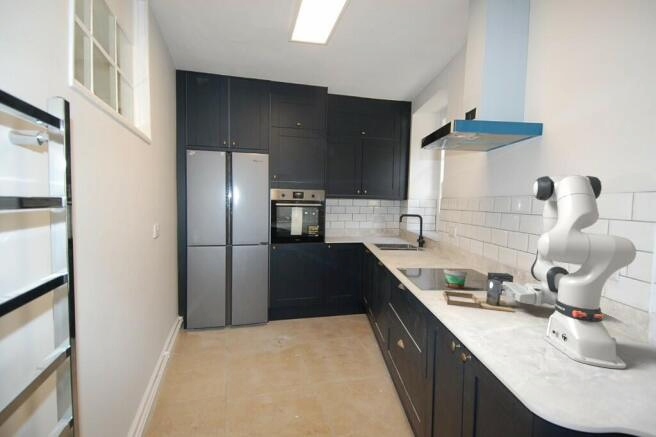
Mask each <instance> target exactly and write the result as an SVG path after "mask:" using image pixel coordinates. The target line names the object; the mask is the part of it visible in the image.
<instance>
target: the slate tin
mask: <svg viewBox="0 0 656 437" xmlns="http://www.w3.org/2000/svg"><path fill="white" fill-rule="evenodd" d="M500 293H501V282H500V281H497V280H488V285H487V284H486V298H485V299H486V304H488V305H491V306H500V300H501V295H500Z"/></svg>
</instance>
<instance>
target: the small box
mask: <svg viewBox="0 0 656 437" xmlns="http://www.w3.org/2000/svg"><path fill="white" fill-rule="evenodd" d="M486 280H487V281H486V282H487V283H486V286H487V285H488V280H497V281H500V282H501V284H503V282H514V275H512V274H509V273H507V272H504V273H503V272H487V279H486ZM501 291H505V290H504V289H501ZM500 296H503V295H502V294H501V293H500Z"/></svg>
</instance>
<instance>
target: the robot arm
mask: <svg viewBox="0 0 656 437" xmlns="http://www.w3.org/2000/svg"><path fill="white" fill-rule="evenodd" d="M602 191H603V190H602V181H601V180H600V179H599V177H596V176H591V175H580V174H579V175H577V174H576V175H575V174H574V175H567V174H564V175H563V174H562V175H551V176H548V175H545V176H541V177H538V178H537V179H536V180H535V182H534V184H533V186H532V192H533V193H532V194H533V196H534V197H535V198H536V200H537V201H542V202H544V205H543V209H542V217H541V218H542V219H541V228H540V229H541V230H540V234H539V238H538V240H537V243H536V247H537V248H536V249H537V251H536V257H535V260H534V262H533V264H532V265H531V268H530V274H531V276H532V278H533V279H535V281H537V282H540V283H531V282H526V283H525V284H523V285H522V284H521V283H518V282H514V281H513V282H503V284H501V289H504V290H505V291H501V294H502V295H501V296H504V297H505V296H507V297H510V298H513V299H514V300H515V301H517V302H518V303H522V304H527V305H528V304H529V305H533V306H536V307H541V305H543V304H547V305H549V306H554V312H553V313H552V314H551V315H550V316H549V320H548V323H547V324H548V325H547V331H546V333H543V334H542V337H541V338H542V339H544V340H545V341H546V342H548V343H549V344H550V345H552V346H553V347H555V348H557V349H558V350H559V351H560V352H562V354H564V355H566V356H567V357H569V358H570V359H572V360H574V361H576V362H579V363H583V364H587V365H590V366H595V367H601V368H608V369H609V368H611V369H626V368H627V364H626V362H624V361H623V360H622V358H620V356H618V354H617V349H616V348H617V347H616V345H617V344H618V343H617V339H616V337H614V336H611V334H610V333H609V331H608V329H607V328H606V326H605V324H604V323H603V319H604V318H603V317H604V316H605V315H604V314H603V312H602V308H601V306H600V305H601V304H600V303H601V299H602V293H603V288H604V286H605V283H606V282H607V281H608V279H609V278H610V277H611V276H612V275H613V274H615V273H616V272H617V271H618V270H620V269H623V268H625V267H628V266H630V265H631V264H632V263H633V262H634V261H635V259H636V258H637V257H636V256H637V248H636V246H635V244H634V243H633V241H632V240H630V239H629V238H627V237H623V236H619V235H614V234H606V233H592V232H583V231H581V230H584V229H586V228H589V227H592V226H593V225H594V224H596V223H597V221H598V220H599V216H600V214H599V209H598V204H597V199H598V198H599V197H600V196H601V192H602ZM554 262H558V263H561V264H562V263H563V264H573V265H574V264H575V265H580V268H579V269H577V270H576V271H574V272H570V273H569V271H568V270H567V269H566V268H564V267H562V266H559V265H557V264H555V263H554Z"/></svg>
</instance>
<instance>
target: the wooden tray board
mask: <svg viewBox="0 0 656 437" xmlns="http://www.w3.org/2000/svg"><path fill="white" fill-rule="evenodd" d="M442 296H443V297H444V300H445V303H446V305H447V306H448V305H449V306H457V307H466V308H474V309H481V310H491V311H498V312H499V311H500V312H505V313H506V312H507V313H514V312H515V313H516V311H515V310H514V309H513V308H512V307H511V306H510V305H509V304H508V303H507V302H506V301H505V300H501V299H500V306H491V305H488V304H486V298H483V297H476V296H475V294H474V293H468V292H458V291H449V290H443V292H442ZM448 297H457V298H465V299H472V301H473V302H472V301H471V302H470V301H463V300H462V301H461V300H455V299H449V298H448Z"/></svg>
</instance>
